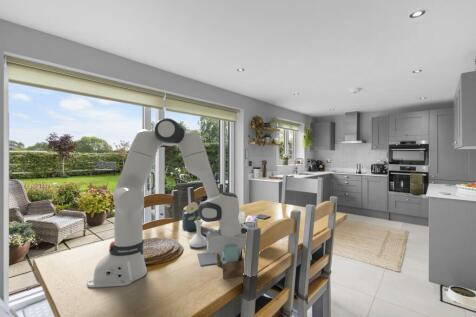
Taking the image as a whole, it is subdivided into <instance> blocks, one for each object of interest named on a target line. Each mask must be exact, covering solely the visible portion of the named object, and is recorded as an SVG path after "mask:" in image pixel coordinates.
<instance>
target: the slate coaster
mask: <svg viewBox="0 0 476 317" xmlns="http://www.w3.org/2000/svg"><path fill="white" fill-rule="evenodd" d="M196 255H197V258H198V262H199V265H200V267H207V266H213V265H217V253H209V252H208V251H207V252H201V253H197V254H196Z"/></svg>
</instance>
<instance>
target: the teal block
mask: <svg viewBox="0 0 476 317" xmlns="http://www.w3.org/2000/svg"><path fill="white" fill-rule="evenodd" d="M222 256H224V257H225V261H222V265H221V266H222V268H223V264H224V263H231V262H238V246H237V245H236V244H234V245H226V246H225V252H222Z"/></svg>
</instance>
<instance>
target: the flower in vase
mask: <svg viewBox="0 0 476 317" xmlns="http://www.w3.org/2000/svg"><path fill="white" fill-rule="evenodd" d="M185 207H187V208H186V209H185V211H186V213H192V212H193V213H194V211H196V210H197V208H198V207H199V205H198V203H197V202H196V201H193V202H190V203H189V204H187V205H186V206H185ZM194 218H195V219H196V217H195V215H194V217H193V216H191V217H189V218H188V220H193V219H194ZM197 219H200V217H199V216H198V217H197ZM197 219H196V221H194V222H195V224H196V228H197V230H196V233H195V235H194V236H193V237H192V238H191V239H190V240H189V241H188V246H190V247H192V248H198V249H199V248H203V247H207V240H206V236H204V235H203V234H202V232H201V230H202V224H203V222H204V221H203V220H202V219H201V220H197Z"/></svg>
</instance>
